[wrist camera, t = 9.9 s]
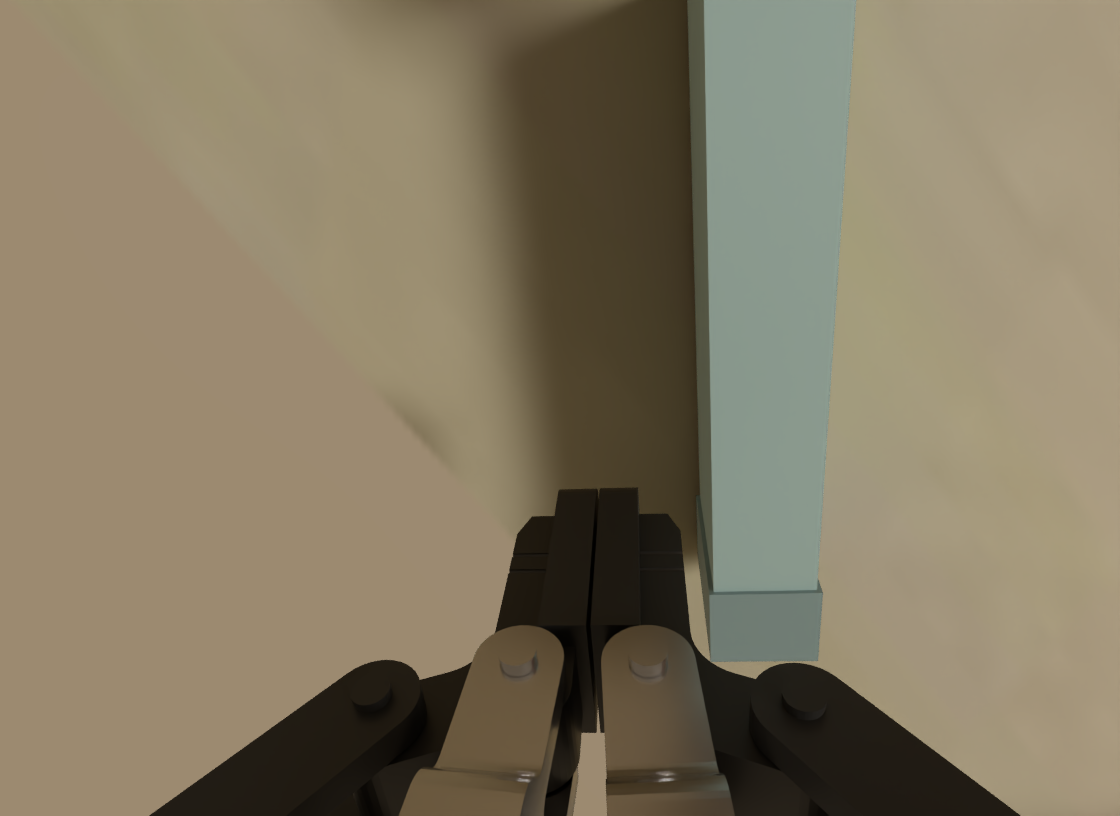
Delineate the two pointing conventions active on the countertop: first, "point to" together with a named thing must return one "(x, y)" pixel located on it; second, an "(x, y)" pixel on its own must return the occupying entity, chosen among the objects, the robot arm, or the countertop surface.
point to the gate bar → (765, 307)
